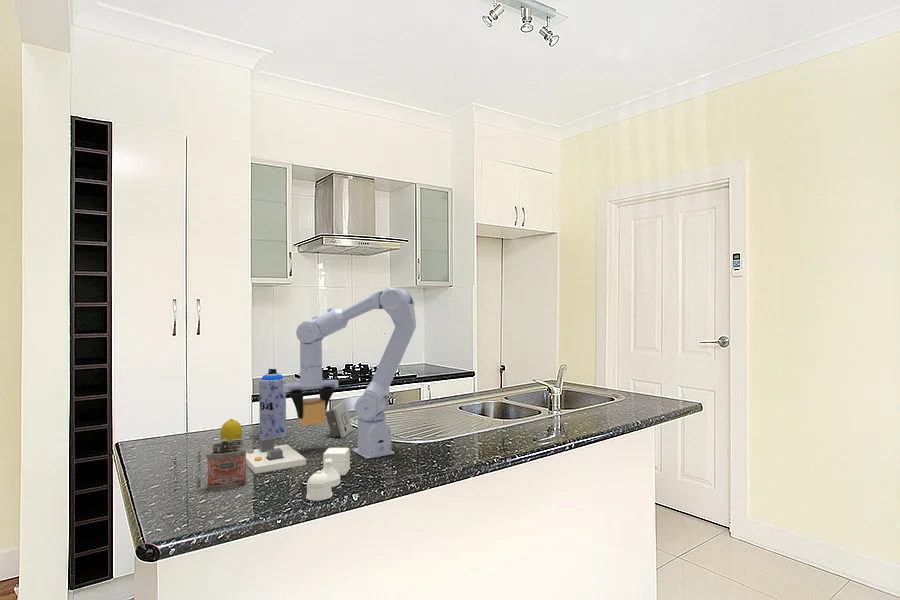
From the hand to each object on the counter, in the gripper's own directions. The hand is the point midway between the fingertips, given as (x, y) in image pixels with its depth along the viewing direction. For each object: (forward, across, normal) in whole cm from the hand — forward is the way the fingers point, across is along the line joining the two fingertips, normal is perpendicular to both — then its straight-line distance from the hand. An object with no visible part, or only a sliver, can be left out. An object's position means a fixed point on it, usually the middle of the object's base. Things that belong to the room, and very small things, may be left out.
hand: (311, 416), depth 145 cm
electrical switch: (+9, -12, -12) cm, 19 cm away
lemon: (+9, +18, -15) cm, 25 cm away
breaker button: (+9, +12, +7) cm, 16 cm away
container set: (+9, +6, +28) cm, 31 cm away
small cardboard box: (+2, 0, 0) cm, 2 cm away
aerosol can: (+9, +5, -22) cm, 24 cm away
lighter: (+9, +24, +17) cm, 31 cm away
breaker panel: (+9, +12, +4) cm, 15 cm away
